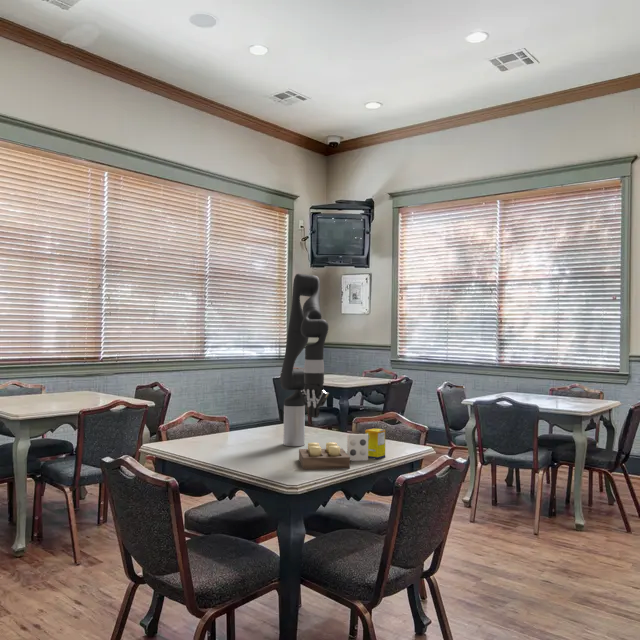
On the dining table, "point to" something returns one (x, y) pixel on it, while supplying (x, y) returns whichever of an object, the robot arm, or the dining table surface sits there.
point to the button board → (323, 460)
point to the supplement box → (376, 443)
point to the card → (357, 446)
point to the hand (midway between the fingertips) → (313, 417)
